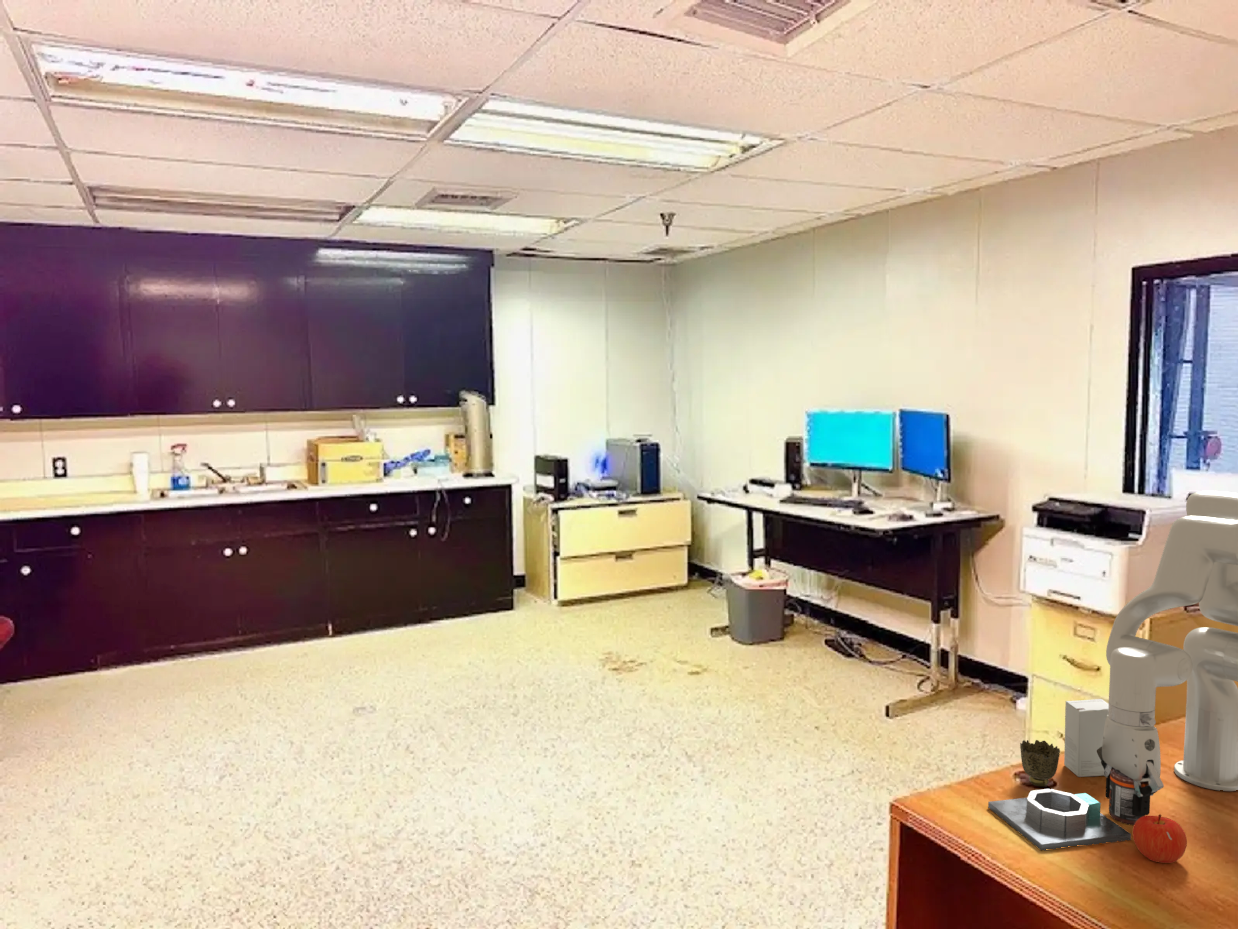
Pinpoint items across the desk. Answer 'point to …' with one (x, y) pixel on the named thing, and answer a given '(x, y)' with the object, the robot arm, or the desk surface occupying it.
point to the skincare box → (1084, 736)
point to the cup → (1039, 761)
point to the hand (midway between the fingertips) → (1126, 805)
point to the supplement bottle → (1122, 797)
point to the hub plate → (1052, 835)
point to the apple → (1159, 838)
